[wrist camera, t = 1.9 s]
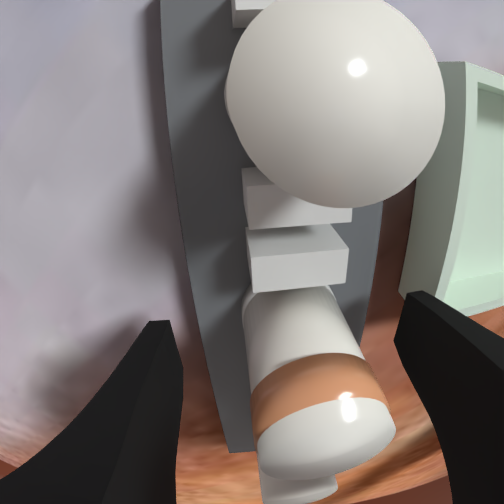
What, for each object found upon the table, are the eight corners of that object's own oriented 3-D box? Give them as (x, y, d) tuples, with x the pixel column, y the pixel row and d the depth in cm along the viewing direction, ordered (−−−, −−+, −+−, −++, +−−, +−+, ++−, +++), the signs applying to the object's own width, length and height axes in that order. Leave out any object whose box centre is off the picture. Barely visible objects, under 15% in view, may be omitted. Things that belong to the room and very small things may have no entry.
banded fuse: (328, 333, 11) (378, 464, 6) (243, 343, 11) (259, 487, 6) (336, 259, 10) (417, 399, 5) (236, 268, 10) (252, 432, 5)
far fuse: (312, 423, 14) (332, 498, 10) (253, 431, 14) (262, 509, 10) (318, 389, 13) (344, 477, 9) (250, 398, 13) (260, 491, 9)
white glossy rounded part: (340, 150, 8) (437, 205, 4) (228, 155, 8) (234, 217, 4) (338, 43, 7) (441, 10, 3) (220, 42, 7) (218, -19, 3)
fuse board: (328, 423, 17) (340, 464, 14) (228, 436, 16) (231, 479, 14) (363, -14, 7) (410, -42, 4) (166, -16, 6) (145, -56, 4)
